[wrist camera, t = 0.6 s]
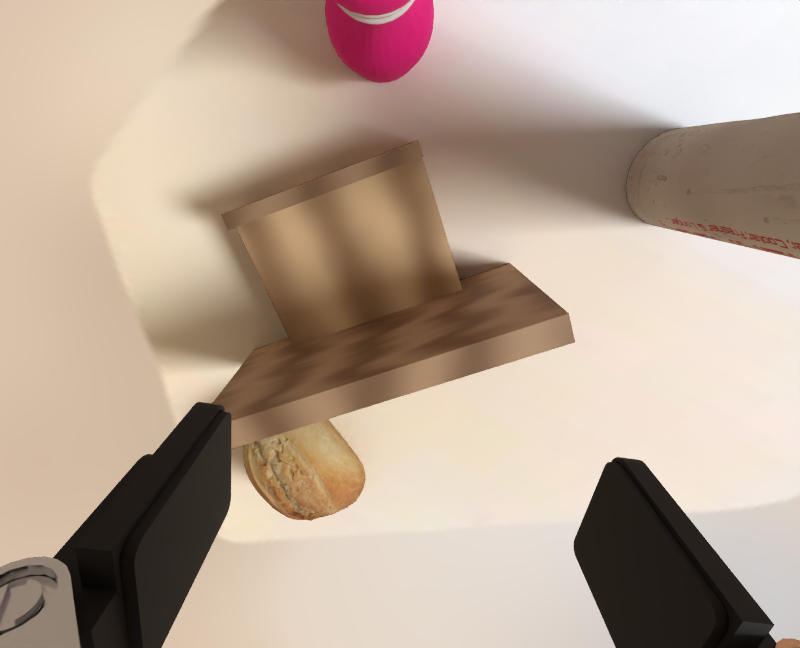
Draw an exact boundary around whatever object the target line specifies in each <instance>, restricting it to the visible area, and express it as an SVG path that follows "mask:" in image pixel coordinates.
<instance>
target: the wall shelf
mask: <svg viewBox="0 0 800 648" xmlns="http://www.w3.org/2000/svg"><path fill="white" fill-rule="evenodd" d="M422 157H423V155H422V152H421V149H420V145H419V142H418V140H417V141H414V142H412V143H409V144H406V145H404V146H401V147H399V148H396V149H393V150H391V151H388V152H385V153H383V154H380V155H377V156H375V157H372V158H370V159H367V160H364V161H362V162H359V163H356V164H354V165H351V166H349V167H346V168H343V169H341V170H338V171H335V172H333V173H330V174H327V175H325V176H322V177H320V178H317V179H314V180H312V181H309V182H306V183H304V184H301V185H299V186H296V187H293V188H291V189H288V190H285V191H283V192H280V193H277V194H275V195H272V196H270V197H267V198H264V199H262V200H259V201H256V202H254V203H251V204H249V205H246V206H243V207H241V208H238V209H235V210H233V211H230V212H227V213H225V214H222V217H223V220H224V222H225V224H226V226H227V228H228V230H229V229H232V228H235V227H236V228H237V230H238V232H239V235H240V237H241V239H242V241H243V243H244V245H245V247H246V249H247V251H248V253H249V255H250V257H251V259H252V261H253V264H254V266H255V268H256V270H257V272H258V274H259V276H260V278H261V280H262V282H263V284H264V286H265V288H266V291H267V293H268V295H269V297H270V299H271V301H272V303H273V305H274V307H275V309H276V311H277V313H278V315H279V317H280V320H281V322H282V324H283V326H284V328H285V330H286V332H287V334H288V336H289V338H287V339H284V340H281V341H278V342H275V343H272V344H269V345H266V346H264V347H261V348H258V349H255V350H253V352H252V353H251V354H250V356H249V357H248V358H247V360H246V361H245V362H244V363H243V365H242V366H241V367H240V369H239V370H238V371H237V372H236V374H235V375H234V376H233V378H232V379H231V380H230V381H229V383H228V384H227V385H226V387H225V388H224V389H223V391H222V392H221V393H220V394H219V396H218V397H217V398H216V400H215V401H214V402H213V403H212V404H217V405H222V406H224V409H225V412H230V413H231V418H232V419H231V449H233V448H236V447H239V446H242V445H246V444H249V443H252V442H255V441H259V440H262V439H265V438H268V437H271V436H275V435H278V434H281V433H284V432H287V431H291V430H294V429H297V428H300V427H304V426H307V425H310V424H313V423H316V422H320V421H323V420H326V419H329V418H333V417H336V416H339V415H342V414H345V413H349V412H352V411H355V410H358V409H361V408H365V407H368V406H371V405H374V404H378V403H381V402H384V401H387V400H390V399H394V398H397V397H400V396H403V395H407V394H410V393H413V392H416V391H419V390H423V389H426V388H429V387H432V386H436V385H439V384H442V383H445V382H448V381H452V380H455V379H458V378H461V377H464V376H468V375H471V374H474V373H477V372H481V371H484V370H487V369H490V368H493V367H497V366H500V365H503V364H506V363H510V362H513V361H516V360H519V359H522V358H526V357H529V356H532V355H535V354H538V353H542V352H545V351H548V350H551V349H555V348H558V347H561V346H564V345H567V344H571V343H574V342H575V340H574V336H573V331H572V326H571V322H570V317H569V313H567V312H566V311H565V310H564V309H563V308H562V307H560V306H559V305H558V304H557V303H556V302H555V301H553V300H552V299H551V298H550V297H549V296H548V295H546V294H545V293H544V292H543V291H542V290H541V289H539V288H538V287H537V286H536V285H535V284H534V283H532V282H531V281H530V280H529V279H528V278H527V277H525V276H524V275H523V274H522V273H521V272H520V271H518V270H517V269H516V268H515V267H514V266H513V265H511V264H507V265H504V266H501V267H498V268H495V269H492V270H489V271H486V272H483V273H480V274H477V275H474V276H471V277H468V278H465V279H462V280H459V276H458V273H457V270H456V267H455V263H454V260H453V257H452V254H451V250H450V247H449V244H448V241H447V237H446V234H445V231H444V228H443V224H442V221H441V218H440V215H439V212H438V208H437V205H436V202H435V199H434V195H433V192H432V189H431V186H430V182H429V179H428V176H427V173H426V169H425V166H424V163H423V160H422Z"/></svg>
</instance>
